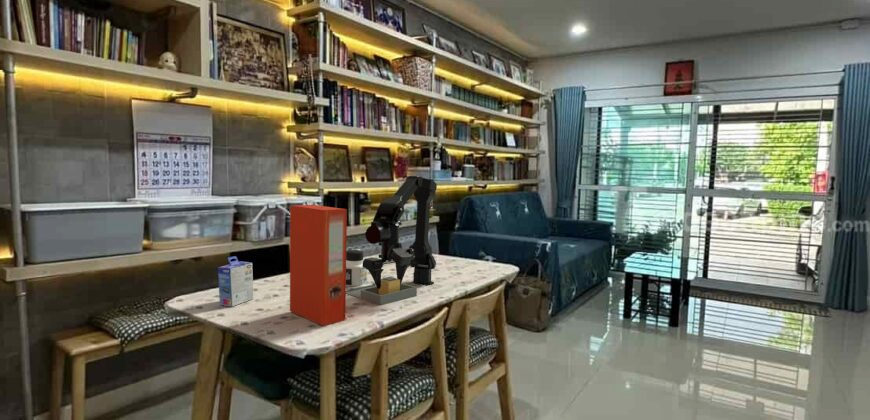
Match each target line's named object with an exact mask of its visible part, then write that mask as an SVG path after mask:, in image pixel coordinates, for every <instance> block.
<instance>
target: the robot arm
mask: <svg viewBox="0 0 870 420" xmlns="http://www.w3.org/2000/svg"><path fill="white" fill-rule="evenodd" d="M437 188H438V187H437V183H436V182H435V180H434V179H433V178H426V177H423V176H420V175H407V176H406V179H405V181H404V182H403V184H401V185H400V187H399V188H398V189H397V191H396V192H395V193H394V194H392V196H390V197H387V198H385V199H384V200H383V201H381V202H380V203H379V206H378V208H377V210H376V212H375V215H374V217H373V219H372V221H371V223H370V226H368V227H367V228H366V231H365V232H364V233H365V234H364V235H365V239H366V241H367V242H368V243H370V244H372V245H376V244H378V246H380V248H381V249H380V250H381V251H380V254H378V258H377V257H367V258H363V262H362V263H363V267H364V268H366V269H367V271H368V272H369V274H370V275H371V277H372V279H373V281H374V282H373V283H375V284H376V286H377V288H378V289H380V287H381V279H382V273H383V271H384V270H385V269H383V267H384V265H388V264H394V263H395V264H394V265H395V270H396V279H400V284H401V283H403V279H404V276H405V274H406V271H407V269H408V268H409V267H410V268H413V273H412V275H413V276H412V277H413V279H412V281H411V283H414V284H417V285H421V286H428V285H432V284H435V282H434V281H433V280H432V270H435V269H436V266H437V260H436V259H435V257H434V255H433V249H432V247H431V244H430V243H429V232H430V231H429V229H430V215H431V213H430V211H431V203H432V201H433V200H434V198H435V197H436V191H437ZM412 196H413V197H414V198H415V201H416V218H415V233H414V234H415V236H414V242H413V243H412V244H410V245H409V246H408V247H409V248H407V249H406V248H405V249H403V247H402V245H403V244H402V242H399V239H400V226H402V221H400V219H401V218H402V216H403V214H404V212H405V205H406V203H407V202H408V201H409V200H410V198H411V197H412Z"/></svg>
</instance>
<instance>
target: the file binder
mask: <svg viewBox="0 0 870 420" xmlns="http://www.w3.org/2000/svg"><path fill="white" fill-rule="evenodd" d="M289 209H290V210H289V212H290V213H289V214H290V215H289V216H290V217H289V218H290V219H289V220H290V221H289V223H290V224H289V225H290V226H289V235H290V236H289V266H290V267H289V312H292V313H293V314H296V315H298V316H300V317H303V318H305V319H307V320H309V321H312V322H314V323H316V324H318V325H321V326H326V325H331V324H335V323H339V322H343V321H345V320H346V306H347V305H346V304H347V303H346V300H347V299H346V297H347V296H346V295H347V294H346V289H347V287H346V251H347V236H348V235H347V230H348V228H347V225H348V223H347V222H348V217H347V216H348V209H346V208H340V207H339V208H338V207H332V206H324V205H319V204H318V205H316V204H298V205H297V204H295V205H290V206H289Z"/></svg>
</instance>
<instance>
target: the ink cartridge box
mask: <svg viewBox="0 0 870 420" xmlns="http://www.w3.org/2000/svg"><path fill="white" fill-rule="evenodd" d="M231 260H232V261H231ZM227 261H228V264H225V265H222V266H218V267H217V275H218V277H217V278H218V293H219V306H223V305H224V306H223V307H230V308H231V307H235V306H237V305H240V304H243V303H245V302H248V301H251V300H253V299H254V280H253V279H254V276H253V275H254V274H253V262H249V261H244V260H243V261H239V259H238V257H237V256H236V255H235V256H229V257H227Z"/></svg>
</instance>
